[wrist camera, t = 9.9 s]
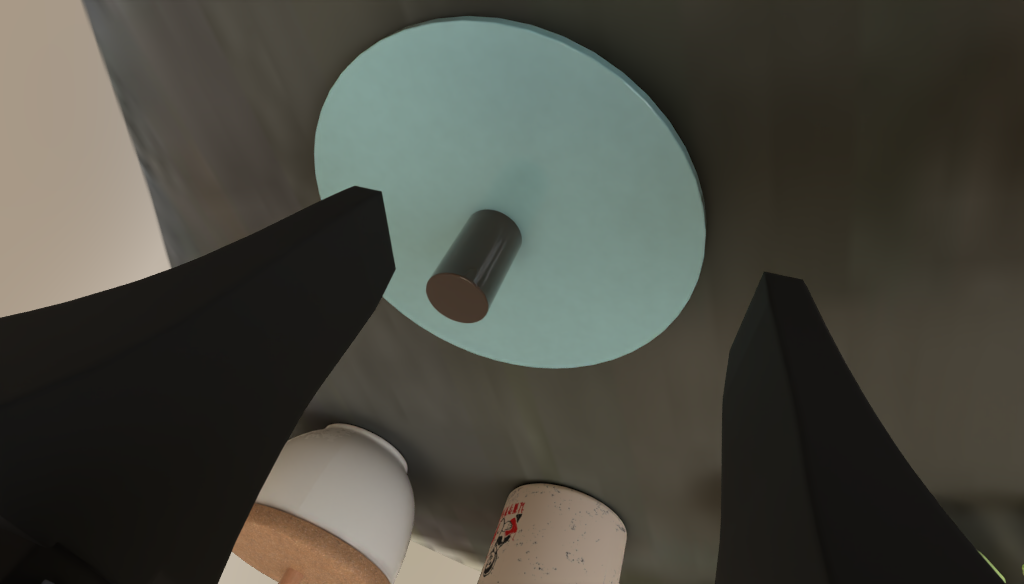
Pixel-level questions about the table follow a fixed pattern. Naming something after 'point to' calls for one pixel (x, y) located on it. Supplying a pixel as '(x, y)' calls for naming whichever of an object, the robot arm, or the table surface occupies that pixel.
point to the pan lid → (518, 190)
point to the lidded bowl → (331, 511)
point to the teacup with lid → (555, 539)
